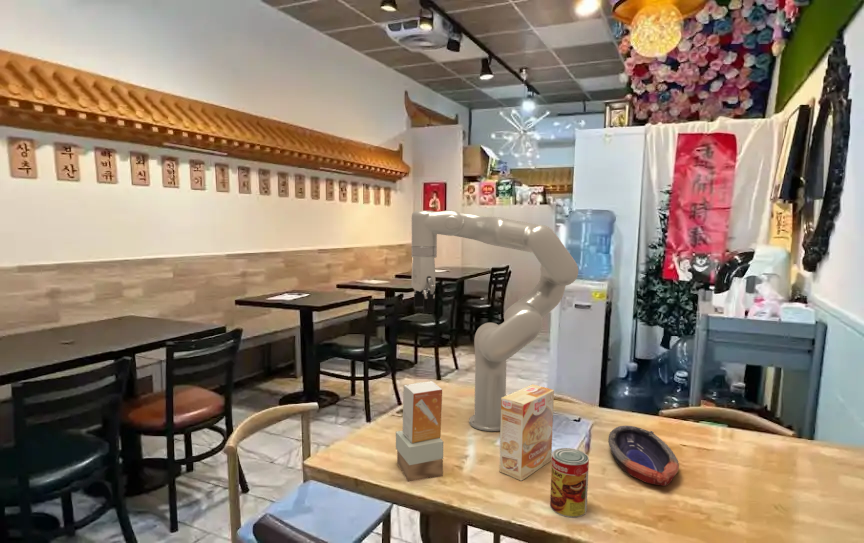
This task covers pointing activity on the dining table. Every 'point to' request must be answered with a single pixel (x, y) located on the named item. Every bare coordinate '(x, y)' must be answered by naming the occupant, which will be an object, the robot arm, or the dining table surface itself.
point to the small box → (422, 411)
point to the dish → (643, 455)
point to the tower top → (419, 449)
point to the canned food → (569, 482)
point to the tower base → (420, 469)
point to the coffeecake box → (526, 431)
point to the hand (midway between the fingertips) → (423, 309)
